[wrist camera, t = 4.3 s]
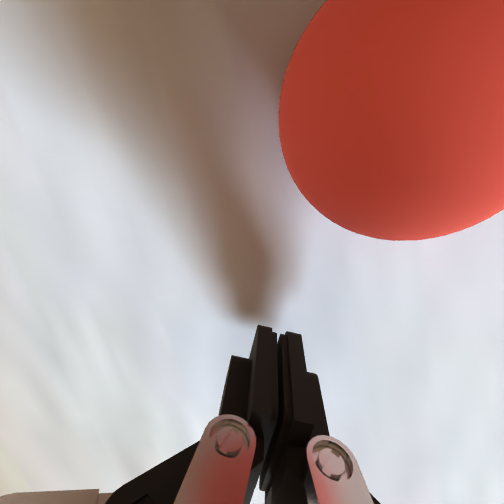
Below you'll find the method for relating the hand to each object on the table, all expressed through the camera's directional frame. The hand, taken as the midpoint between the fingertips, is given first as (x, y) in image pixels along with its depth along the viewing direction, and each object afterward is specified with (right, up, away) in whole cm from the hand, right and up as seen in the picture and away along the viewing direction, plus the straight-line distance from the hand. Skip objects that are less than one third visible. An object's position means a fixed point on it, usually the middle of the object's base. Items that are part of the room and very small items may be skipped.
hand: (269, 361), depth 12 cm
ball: (+3, +7, -4) cm, 9 cm away
